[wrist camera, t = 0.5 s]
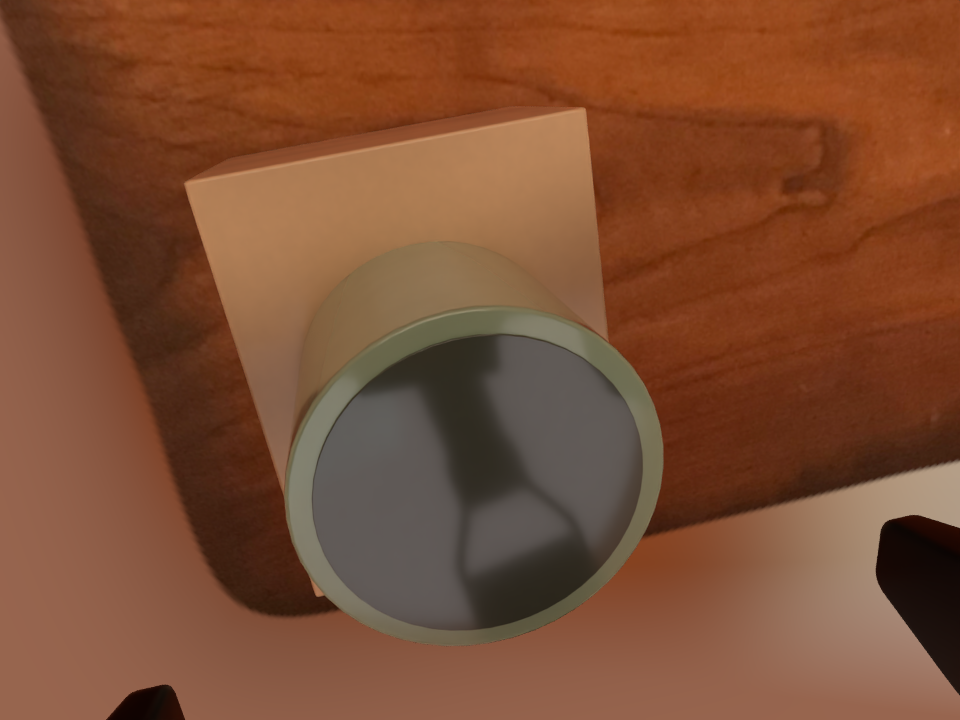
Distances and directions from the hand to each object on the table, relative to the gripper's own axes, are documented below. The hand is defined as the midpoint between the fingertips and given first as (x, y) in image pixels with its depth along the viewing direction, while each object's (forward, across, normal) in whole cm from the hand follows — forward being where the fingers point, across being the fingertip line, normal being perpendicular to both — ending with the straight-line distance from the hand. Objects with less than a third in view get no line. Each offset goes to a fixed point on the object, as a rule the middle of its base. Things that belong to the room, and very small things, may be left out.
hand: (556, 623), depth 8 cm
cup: (+8, 0, 0) cm, 8 cm away
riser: (+14, 0, 0) cm, 14 cm away
